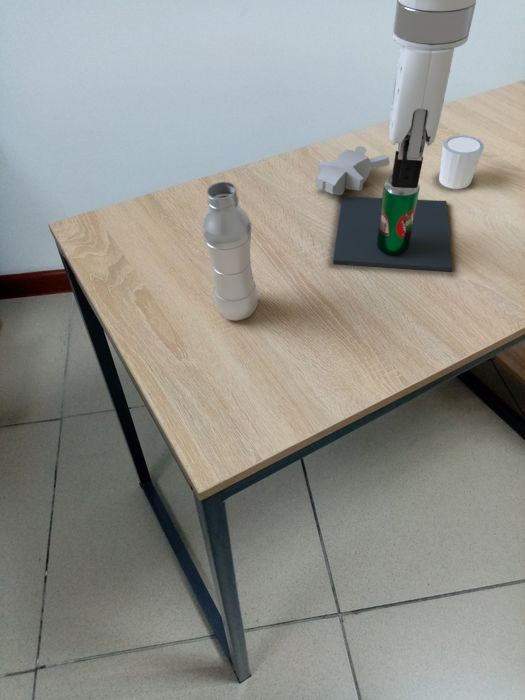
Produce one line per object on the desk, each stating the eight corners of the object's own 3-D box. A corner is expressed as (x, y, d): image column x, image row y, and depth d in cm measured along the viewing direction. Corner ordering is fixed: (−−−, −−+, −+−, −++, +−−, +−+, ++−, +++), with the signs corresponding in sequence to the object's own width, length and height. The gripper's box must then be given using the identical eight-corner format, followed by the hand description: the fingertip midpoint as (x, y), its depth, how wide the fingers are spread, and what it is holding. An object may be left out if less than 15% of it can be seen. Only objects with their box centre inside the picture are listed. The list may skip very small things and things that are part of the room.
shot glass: (428, 182, 98) (435, 145, 92) (448, 166, 101) (456, 130, 95) (461, 195, 94) (470, 158, 89) (481, 178, 97) (491, 142, 92)
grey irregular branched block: (303, 165, 94) (355, 133, 101) (303, 191, 98) (353, 158, 104) (346, 183, 89) (397, 148, 96) (344, 209, 93) (394, 174, 100)
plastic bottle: (211, 325, 76) (188, 205, 61) (220, 293, 81) (201, 174, 66) (255, 327, 76) (243, 207, 61) (262, 295, 80) (252, 175, 65)
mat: (445, 204, 93) (446, 200, 92) (451, 271, 81) (452, 267, 80) (341, 199, 95) (342, 195, 95) (332, 263, 84) (333, 259, 83)
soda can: (374, 238, 86) (382, 171, 77) (406, 237, 86) (418, 169, 77) (377, 258, 83) (386, 190, 74) (410, 257, 83) (423, 189, 74)
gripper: (395, -3, 59) (376, 153, 72) (393, 48, 49) (371, 216, 63) (465, -2, 58) (432, 155, 71) (477, 49, 48) (437, 220, 62)
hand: (404, 184), depth 67 cm, fingers closed
